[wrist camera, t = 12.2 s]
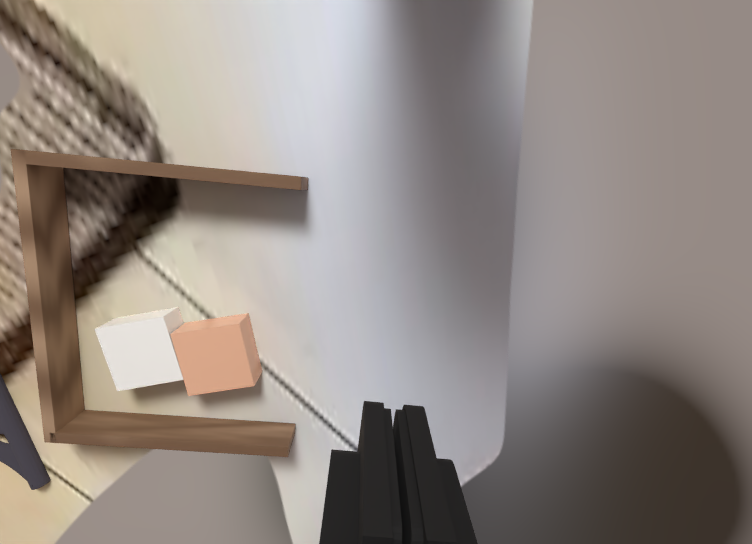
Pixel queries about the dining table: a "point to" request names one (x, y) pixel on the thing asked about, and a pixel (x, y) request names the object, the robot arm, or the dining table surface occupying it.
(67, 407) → the frame
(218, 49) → the dining table surface
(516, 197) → the dining table surface
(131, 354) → the white square tile
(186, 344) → the terracotta tile
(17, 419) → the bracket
